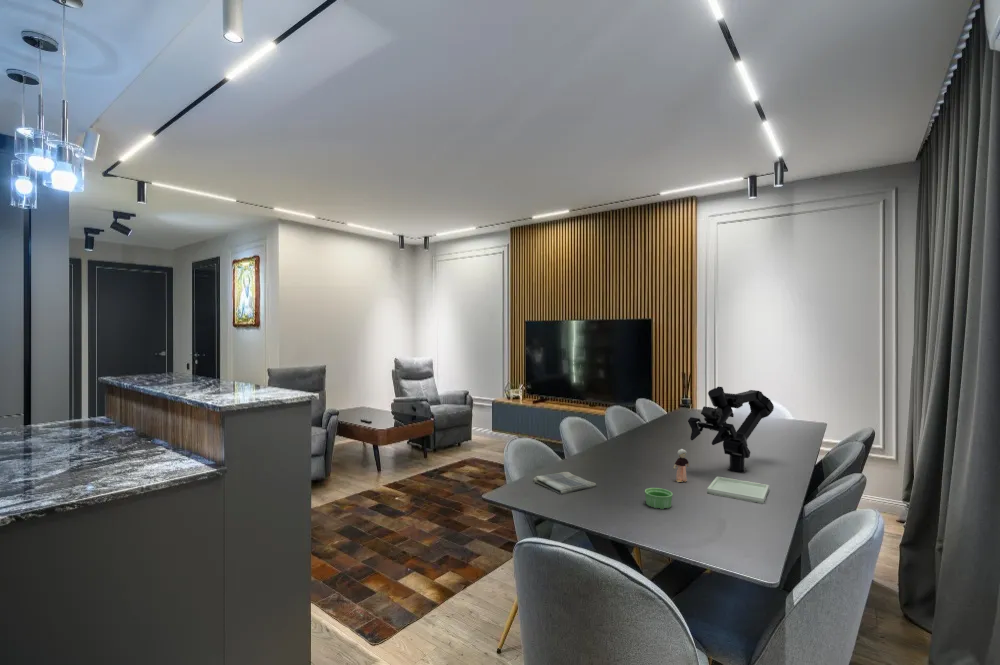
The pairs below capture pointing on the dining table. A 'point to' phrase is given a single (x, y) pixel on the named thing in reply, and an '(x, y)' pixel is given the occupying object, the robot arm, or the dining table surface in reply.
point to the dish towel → (563, 482)
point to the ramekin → (658, 498)
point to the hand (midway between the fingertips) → (701, 441)
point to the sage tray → (739, 489)
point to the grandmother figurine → (681, 466)
